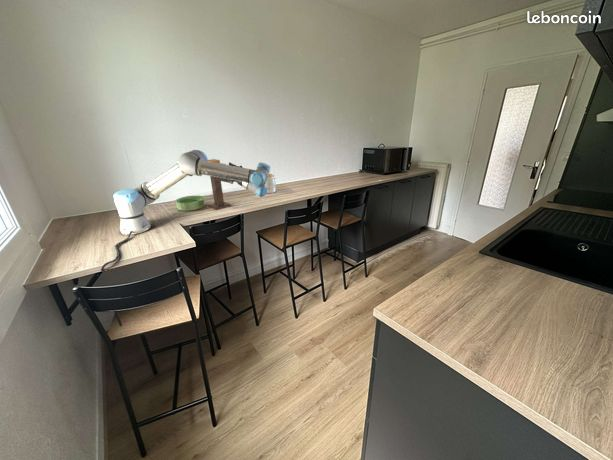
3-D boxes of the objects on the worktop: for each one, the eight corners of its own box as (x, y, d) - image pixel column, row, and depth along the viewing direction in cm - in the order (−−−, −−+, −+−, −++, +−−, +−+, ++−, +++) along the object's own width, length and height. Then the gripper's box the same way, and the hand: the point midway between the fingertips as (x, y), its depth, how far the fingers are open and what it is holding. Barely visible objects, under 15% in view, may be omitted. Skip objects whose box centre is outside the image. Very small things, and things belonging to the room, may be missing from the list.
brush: (228, 167, 170) (227, 161, 169) (220, 168, 166) (219, 162, 165) (215, 164, 180) (214, 159, 179) (207, 165, 176) (206, 160, 175)
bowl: (207, 208, 184) (206, 200, 182) (178, 213, 176) (176, 204, 173) (203, 201, 200) (202, 194, 197) (176, 205, 191) (174, 197, 189)
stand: (231, 205, 189) (225, 165, 177) (216, 209, 181) (210, 167, 169) (222, 202, 197) (216, 163, 184) (208, 206, 188) (201, 166, 176)
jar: (273, 189, 234) (272, 170, 227) (278, 192, 223) (277, 172, 216) (259, 190, 229) (258, 171, 222) (263, 194, 218) (262, 173, 211)
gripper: (230, 194, 152) (206, 179, 158) (258, 179, 168) (235, 166, 175) (230, 184, 147) (205, 169, 153) (259, 169, 163) (235, 156, 169)
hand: (221, 167), depth 164 cm, fingers open, 13 cm apart
